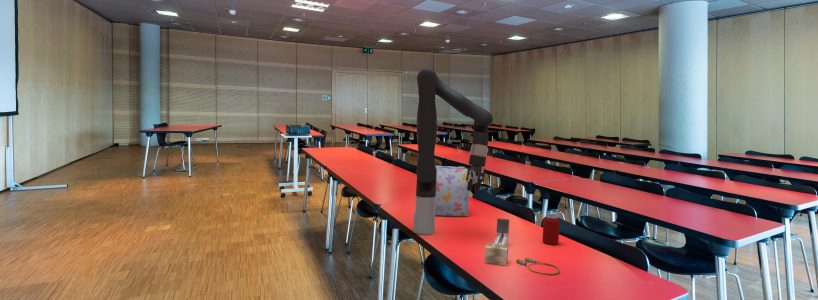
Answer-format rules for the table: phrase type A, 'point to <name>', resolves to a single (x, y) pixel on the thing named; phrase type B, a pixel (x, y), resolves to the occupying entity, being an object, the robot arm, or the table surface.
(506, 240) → the guide sleeve
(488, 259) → the socket block
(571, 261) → the table surface
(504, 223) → the dark grey block
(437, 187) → the lunch bag
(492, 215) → the table surface
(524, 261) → the extension cord
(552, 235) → the beverage can
